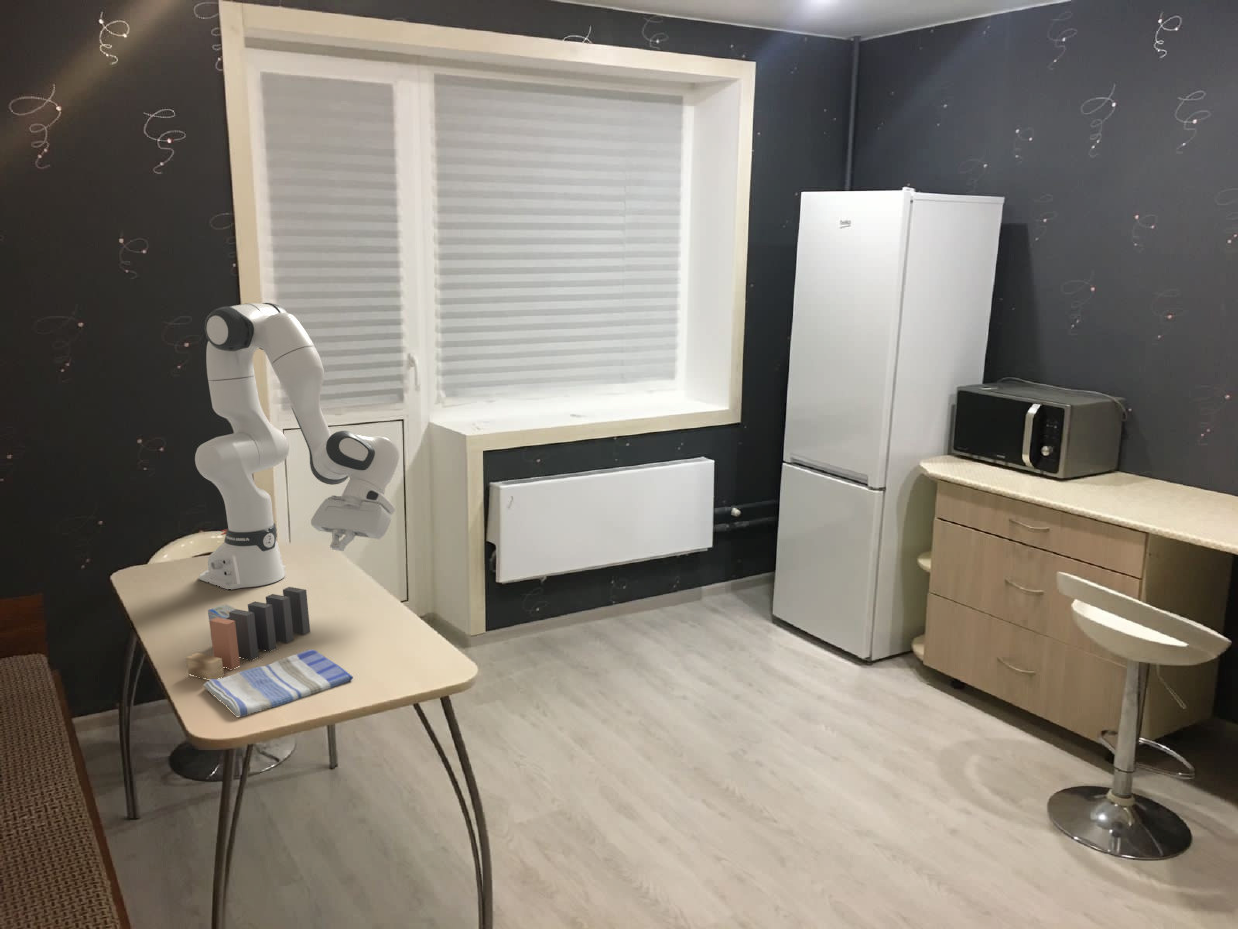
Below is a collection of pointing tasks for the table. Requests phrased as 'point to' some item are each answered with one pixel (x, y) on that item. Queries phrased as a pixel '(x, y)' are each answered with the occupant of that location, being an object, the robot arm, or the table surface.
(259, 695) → the dish towel
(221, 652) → the domino
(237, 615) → the domino
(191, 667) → the end block
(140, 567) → the table surface
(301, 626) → the domino
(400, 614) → the table surface
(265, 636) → the domino
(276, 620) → the domino
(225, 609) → the medicine box
